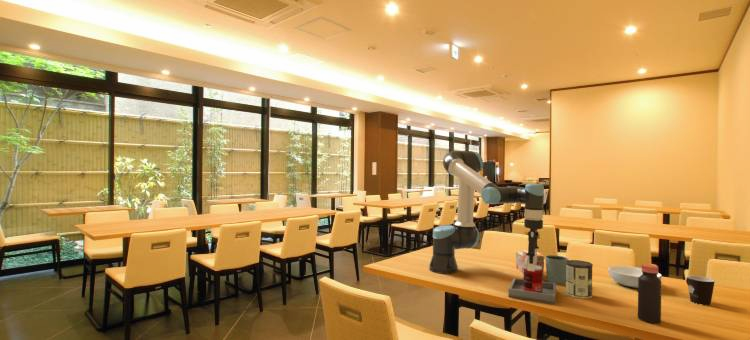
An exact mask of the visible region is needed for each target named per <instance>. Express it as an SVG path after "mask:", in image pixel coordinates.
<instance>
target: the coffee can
mask: <svg viewBox="0 0 750 340" xmlns="http://www.w3.org/2000/svg"><path fill="white" fill-rule="evenodd" d="M593 266H594V264H593V263H592V262H589V261H585V260H578V259H570V260H569V259H568V261H566V284H565V287H566V289H565V293H566V294H567V295H568V296H569V297H573V298H576V299H585V300H586V299H587V300H588V299H591V298H593Z"/></svg>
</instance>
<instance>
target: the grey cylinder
mask: <svg viewBox="0 0 750 340" xmlns="http://www.w3.org/2000/svg"><path fill="white" fill-rule="evenodd" d="M544 260H545V269H546V271H545V274H546V282H548V283H555V284H556V285H559V286H560V285H561V286H562V285H566V261H568V260H569V257H565V256H562V255H556V254H555V255H552V254H551V255H550V254H549V255H545V256H544Z"/></svg>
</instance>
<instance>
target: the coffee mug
mask: <svg viewBox="0 0 750 340" xmlns="http://www.w3.org/2000/svg"><path fill="white" fill-rule="evenodd" d="M685 283H686V285H687V286H688V292H689V300H690V303H691V302H692V303H693V302H694V303H693V304H696V303H697V304H696V305H700V304H702V305H701V306H711V305H712V299H713V294H714V293H713V292H714V287H715V279H713V278H710V277H705V276H700V275H687V276H686V278H685Z"/></svg>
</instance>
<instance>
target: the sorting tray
mask: <svg viewBox="0 0 750 340" xmlns="http://www.w3.org/2000/svg"><path fill="white" fill-rule="evenodd" d="M556 293H557V284H555V283H549V282H547V281H542V293H538V292H532V291H525V290H524V289H523V278H517V277H513V278H512V281H511V283H510V285H509V287H508V298H513V299H518V300H525V301H526V300H527V301H532V302H539V303H543V304H544V303H545V304H549V305H551V304H552V305H556V296H557V294H556Z"/></svg>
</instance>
